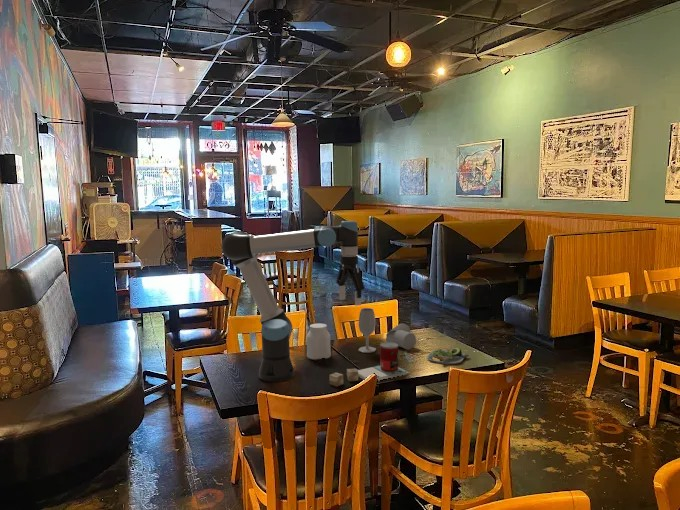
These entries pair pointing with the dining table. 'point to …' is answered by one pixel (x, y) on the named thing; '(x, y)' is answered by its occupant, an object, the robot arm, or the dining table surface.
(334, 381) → the maple block
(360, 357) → the dining table surface
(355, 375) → the maple block
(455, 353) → the salad plate
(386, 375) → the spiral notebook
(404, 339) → the bent grey cylinder
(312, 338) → the jar
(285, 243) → the robot arm
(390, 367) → the canned food
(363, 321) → the wineglass
